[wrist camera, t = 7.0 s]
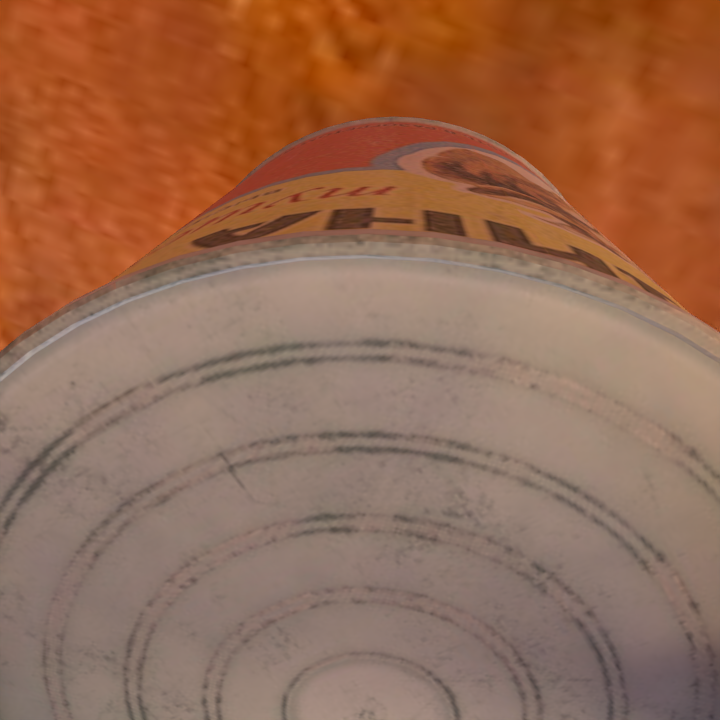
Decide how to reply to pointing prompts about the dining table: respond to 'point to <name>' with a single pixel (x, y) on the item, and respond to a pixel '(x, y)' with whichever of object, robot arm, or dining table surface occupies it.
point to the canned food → (366, 460)
